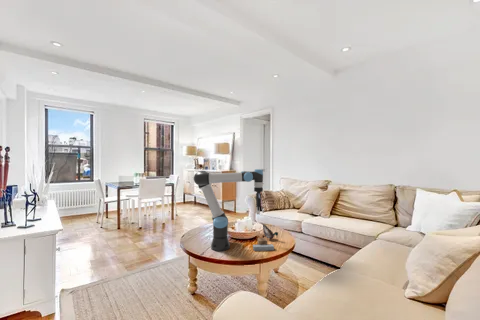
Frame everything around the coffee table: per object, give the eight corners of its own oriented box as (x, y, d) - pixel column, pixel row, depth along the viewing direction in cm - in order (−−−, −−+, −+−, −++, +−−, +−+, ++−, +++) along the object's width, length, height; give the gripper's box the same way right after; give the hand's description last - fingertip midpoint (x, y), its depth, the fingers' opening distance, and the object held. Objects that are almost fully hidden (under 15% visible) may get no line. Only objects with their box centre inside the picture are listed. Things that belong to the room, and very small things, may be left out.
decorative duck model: (281, 236, 207) (275, 219, 211) (277, 238, 201) (270, 221, 205) (268, 240, 215) (262, 224, 219) (263, 242, 209) (257, 226, 213)
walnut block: (258, 248, 189) (258, 241, 189) (257, 245, 196) (257, 238, 196) (267, 248, 189) (267, 240, 189) (265, 245, 196) (265, 237, 196)
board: (253, 250, 183) (253, 247, 183) (252, 248, 188) (252, 244, 188) (273, 250, 184) (273, 246, 184) (272, 247, 189) (272, 244, 189)
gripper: (263, 187, 198) (263, 215, 198) (261, 186, 211) (261, 212, 211) (255, 187, 198) (254, 215, 198) (253, 186, 211) (253, 212, 211)
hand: (258, 214), depth 204 cm, fingers closed
